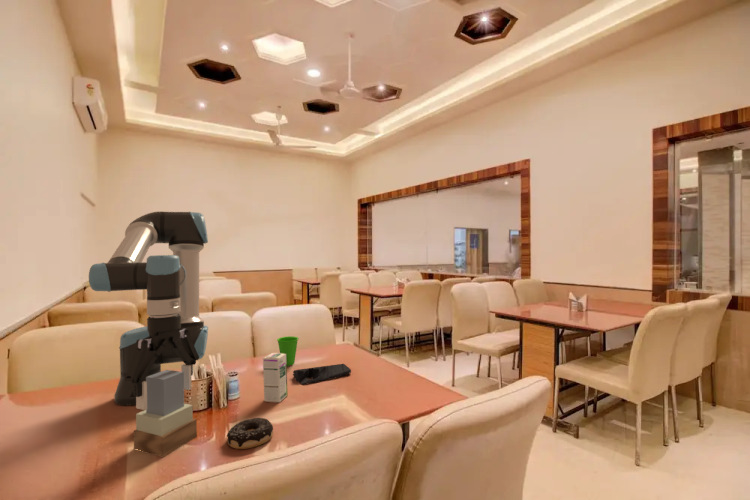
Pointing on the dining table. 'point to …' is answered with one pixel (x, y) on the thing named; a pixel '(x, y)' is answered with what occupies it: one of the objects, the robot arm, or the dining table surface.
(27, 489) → the dining table surface
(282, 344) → the cup
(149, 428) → the tower top
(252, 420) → the donut
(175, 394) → the gray block
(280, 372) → the syrup box
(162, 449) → the tower base
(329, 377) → the dark slate chunk
